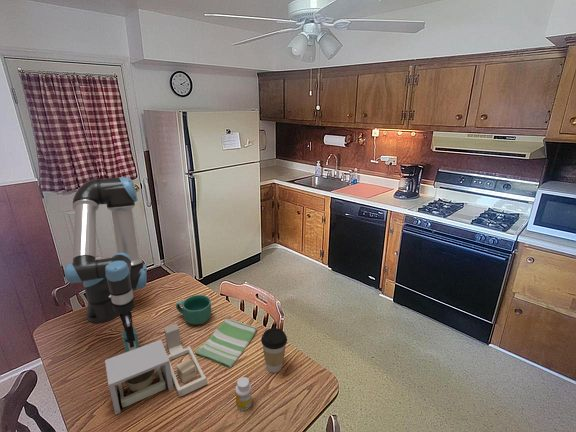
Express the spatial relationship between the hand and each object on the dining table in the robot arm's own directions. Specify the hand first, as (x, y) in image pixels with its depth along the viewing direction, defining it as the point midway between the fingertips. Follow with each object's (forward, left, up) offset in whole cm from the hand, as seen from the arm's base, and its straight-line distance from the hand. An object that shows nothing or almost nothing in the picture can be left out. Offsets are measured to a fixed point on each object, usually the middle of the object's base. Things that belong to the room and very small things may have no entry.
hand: (132, 348), depth 128 cm
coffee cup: (+38, +45, -2) cm, 59 cm away
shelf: (+21, 0, -2) cm, 21 cm away
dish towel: (+16, +35, -2) cm, 39 cm away
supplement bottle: (+46, +28, -2) cm, 54 cm away
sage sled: (+12, 0, -1) cm, 12 cm away
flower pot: (+21, 0, -2) cm, 21 cm away
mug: (-7, +28, -2) cm, 29 cm away
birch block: (+24, +15, -2) cm, 29 cm away
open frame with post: (+18, +15, -1) cm, 24 cm away
